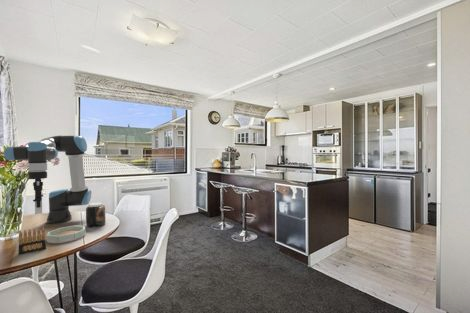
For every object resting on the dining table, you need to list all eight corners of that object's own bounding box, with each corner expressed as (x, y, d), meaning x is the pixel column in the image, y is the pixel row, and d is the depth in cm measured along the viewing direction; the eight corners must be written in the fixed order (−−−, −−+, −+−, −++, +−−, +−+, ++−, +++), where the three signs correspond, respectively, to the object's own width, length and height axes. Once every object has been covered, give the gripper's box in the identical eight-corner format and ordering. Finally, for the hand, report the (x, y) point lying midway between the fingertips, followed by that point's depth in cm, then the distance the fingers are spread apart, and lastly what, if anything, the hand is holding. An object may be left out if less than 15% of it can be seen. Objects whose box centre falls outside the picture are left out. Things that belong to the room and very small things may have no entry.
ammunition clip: (18, 255, 113) (17, 231, 113) (18, 253, 115) (17, 230, 115) (46, 249, 120) (45, 226, 120) (46, 248, 122) (45, 225, 121)
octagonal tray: (48, 235, 139) (48, 229, 139) (85, 229, 150) (85, 223, 150) (44, 246, 124) (44, 239, 124) (86, 238, 135) (86, 231, 135)
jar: (84, 228, 152) (84, 206, 152) (87, 223, 163) (87, 203, 163) (104, 226, 157) (104, 204, 157) (106, 221, 168) (106, 201, 168)
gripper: (29, 170, 126) (29, 208, 126) (27, 172, 107) (28, 217, 108) (46, 169, 131) (47, 206, 131) (47, 171, 112) (48, 214, 112)
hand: (38, 211), depth 119 cm, fingers open, 13 cm apart
